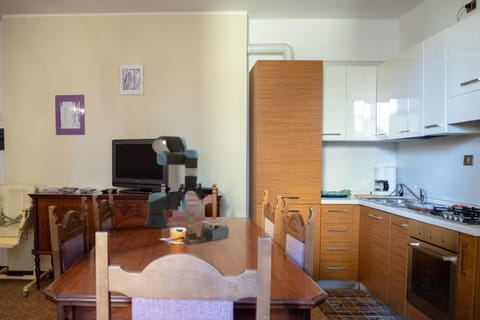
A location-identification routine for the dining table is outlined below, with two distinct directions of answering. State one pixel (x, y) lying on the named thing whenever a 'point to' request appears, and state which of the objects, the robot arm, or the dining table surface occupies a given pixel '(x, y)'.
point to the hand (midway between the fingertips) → (190, 211)
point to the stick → (189, 221)
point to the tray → (194, 239)
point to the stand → (191, 234)
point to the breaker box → (214, 230)
